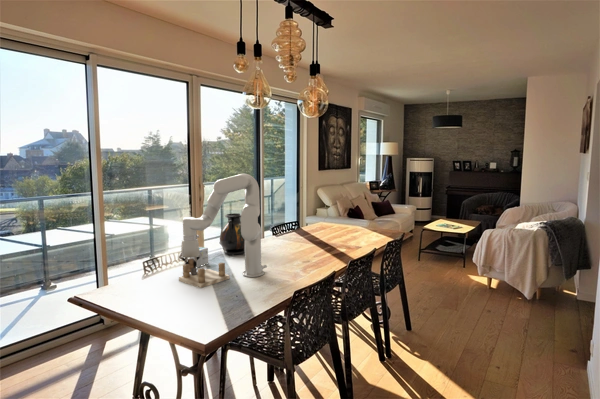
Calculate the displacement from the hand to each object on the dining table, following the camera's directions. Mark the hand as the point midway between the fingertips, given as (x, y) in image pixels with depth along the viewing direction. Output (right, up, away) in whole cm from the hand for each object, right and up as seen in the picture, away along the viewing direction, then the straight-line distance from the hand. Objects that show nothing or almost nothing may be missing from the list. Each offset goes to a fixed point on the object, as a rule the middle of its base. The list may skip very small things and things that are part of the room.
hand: (191, 267), depth 230 cm
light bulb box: (0, -2, +19) cm, 19 cm away
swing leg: (+2, -2, -4) cm, 5 cm away
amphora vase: (+18, +2, +49) cm, 52 cm away
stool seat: (+11, -5, -10) cm, 16 cm away
